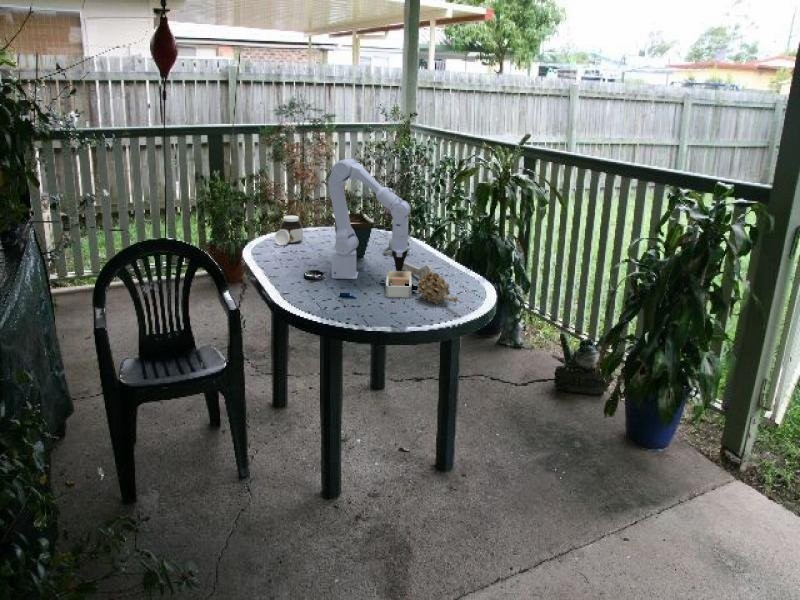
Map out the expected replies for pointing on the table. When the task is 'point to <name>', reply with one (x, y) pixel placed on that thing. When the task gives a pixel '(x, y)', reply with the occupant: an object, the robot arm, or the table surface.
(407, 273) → the board
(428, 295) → the pine cone
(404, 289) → the tray
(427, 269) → the wrench
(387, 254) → the ceramic mug
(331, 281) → the table surface
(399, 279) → the tile
